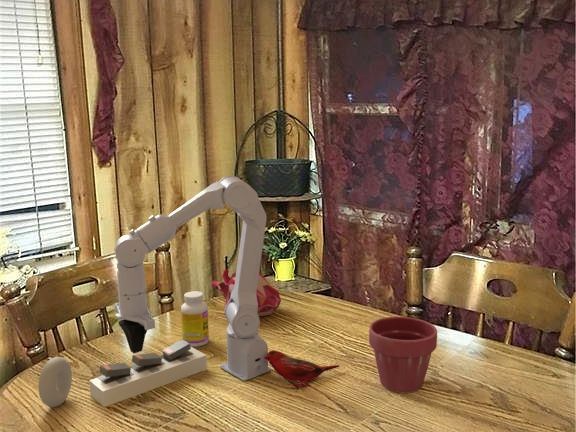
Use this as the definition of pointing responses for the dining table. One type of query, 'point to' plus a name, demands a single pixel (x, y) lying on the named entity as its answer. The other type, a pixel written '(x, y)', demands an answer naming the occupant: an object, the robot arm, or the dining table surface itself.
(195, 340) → the supplement bottle
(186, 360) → the rocker switch panel
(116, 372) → the rocker
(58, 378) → the grey round disc
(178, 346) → the block
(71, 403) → the dining table surface
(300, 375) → the decorative bird figurine
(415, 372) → the plant pot
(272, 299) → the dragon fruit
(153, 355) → the rocker
